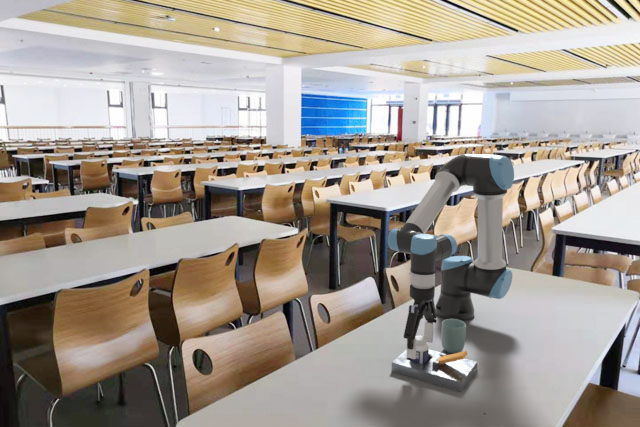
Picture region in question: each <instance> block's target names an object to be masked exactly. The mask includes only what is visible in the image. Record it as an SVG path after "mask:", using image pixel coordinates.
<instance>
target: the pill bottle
mask: <svg viewBox="0 0 640 427" xmlns="http://www.w3.org/2000/svg"><path fill="white" fill-rule="evenodd" d="M415 338H416V359H411V361H414V362H417V363H421V364H424V365H426V364H427V363H428V351H429V349H430V348H429V345H428V344H427V343H428V342H427V338H426V337H424V336H423V335H416V336H415Z"/></svg>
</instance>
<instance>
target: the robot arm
mask: <svg viewBox="0 0 640 427" xmlns="http://www.w3.org/2000/svg"><path fill="white" fill-rule="evenodd" d="M514 179H515V170H514V165H513V163H512V161H511V159H510V158H509V157H507V156H505V155H498V154H487V153H485V154H484V153H480V154H479V153H462V154H460V155H457V156H455V157H453V158H452V159H451V160H449V161H447V162H446V163H445V164H443V165H442V166H441V168H440V169H439V170H438V171H437V173H436V174H435V175H434V182H433V183H432V185H431V186H430V187H429V189H428V190H427V192H426V193H425V194H424V196H423V198H421V200H420V202H419V203H418V204H417V206H416V207H415V209H414V210H413V212H412V213H411V214H410V216H409V217H408V219H407V220H406V222H405V223H404V224H403V226H402V227H401V228H400V227H399V228H397V227H395V228H392V229H391V230H390V231H389V232H388V236H387V245H388V247H389V249H390V250H392V251H394V252H398V253H403V254H409V255H410V272H409V273H408V274H409V276H410V277H409V283H410V285H409V297H410V298H411V299H412V300H414V302H413V305H412V304H411V305H409V307H408V314H407V319H406V324H405V328H404V332H403V339H406V349H407V357H408V358H411V359H416V338H415V336H417V332H418V330H419V326H420V322H421V320H422V319H423V318H424V319H425V321H424V328H423V330H424V331H423V332H424V333H423V335H424V337H426V338H427V342H426V343H431V344H433V342H434V324H436V323H437V320H438V319H437V316H438V317H441V318H442V319H445V320H446V319H458V320H461V321H466V320H467V321H468V320H470V318H471V319H472V318H474V316H475V307H474V304H473V300H472V297H471V296H472V295H471V294H474V295H478V296H483V297H487V298H489V299H496V300H502V299H503V298H505V296H507V294H508V293H509V290H510V287H511V284H512V280H513V271H512V270H511V269H509V268H507V261H506V260H504V258H503V209H504V208H503V206H504V205H503V204H504V203H503V200H504V198H503V197H504V196H505V195H507V194H508V190H509V189H510V190H511V188H512V186H513V184H514ZM463 186H464V187H465V186H467V187H472V189H473V190H472V192H473V195H475V196H476V198H477V258H475V260H474V259H473V257H471V256H469V255H455V254H456V252H457V251H458V250H457V249H458V243H457V240H456V239H455V237H453V236H452V235H451V234H447V233H444V234H443V233H442V234H439V235H437V234H430V233H427V231H428V230H429V228H430V227H431V226H432V224H433V222H435V219H437V216H438V215H439V214H440V212H441V211H442V210H443V207H444V206H445V205H446V204H447V202H448V200H449V199H450V197H451V196H452V194H453V193H455V192H458V190H459V189H460V188H461V187H463ZM453 255H454V256H453ZM440 261H441V268H440V271H441V272H440V293H439V296H438V299H437V301H436V304H435V300H434V299H435V293H436V292H435V290H436V288H435V287H436V286H435V285H436V268H437V267H436V266H437V265H436V264H437V263H438V262H440Z"/></svg>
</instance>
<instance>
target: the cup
mask: <svg viewBox="0 0 640 427" xmlns="http://www.w3.org/2000/svg"><path fill="white" fill-rule="evenodd" d="M440 332H441V333H440V334H441V345H442V348H443V351H445V352H446V353H447V354H455V353H459V352H463V351H464V348H465V344H466V338H467V323H466V322H464V320H458V319H446V318H445V319H444V320H442V322H441V330H440Z"/></svg>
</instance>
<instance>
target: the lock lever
mask: <svg viewBox="0 0 640 427" xmlns="http://www.w3.org/2000/svg"><path fill="white" fill-rule="evenodd" d="M467 355H468V351H467V350H462V351H461V352H459V353H455V354H451V353H449V355H446V356H439V357H438V358H437V359H436V360H435V361H439V364H443V363H448V362H452V361H457V360H461V359H464V358H465V359H466V357H467Z"/></svg>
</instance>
